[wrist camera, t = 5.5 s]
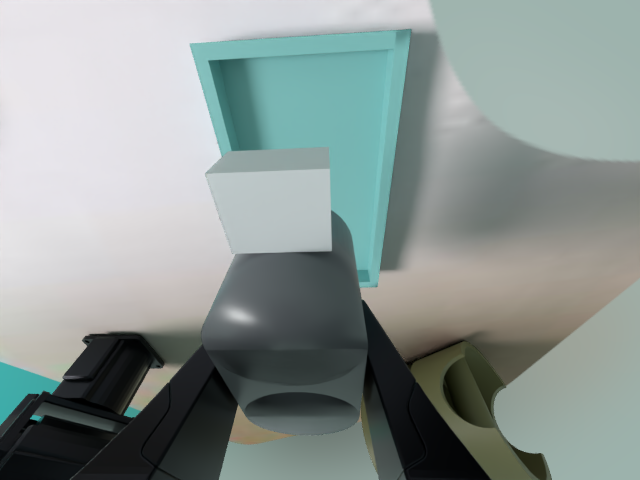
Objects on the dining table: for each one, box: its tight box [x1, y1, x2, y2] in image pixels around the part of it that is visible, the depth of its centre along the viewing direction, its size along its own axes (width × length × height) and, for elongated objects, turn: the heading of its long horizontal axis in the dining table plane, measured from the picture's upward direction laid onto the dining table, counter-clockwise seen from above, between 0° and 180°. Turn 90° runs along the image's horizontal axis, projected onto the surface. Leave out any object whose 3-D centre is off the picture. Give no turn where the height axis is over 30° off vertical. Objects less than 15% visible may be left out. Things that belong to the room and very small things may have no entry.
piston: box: [361, 341, 552, 480], centre depth 25 cm, size 11×12×11 cm
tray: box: [190, 29, 411, 288], centre depth 15 cm, size 15×9×2 cm, turn 3°
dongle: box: [201, 147, 368, 435], centre depth 8 cm, size 10×4×4 cm, turn 3°
